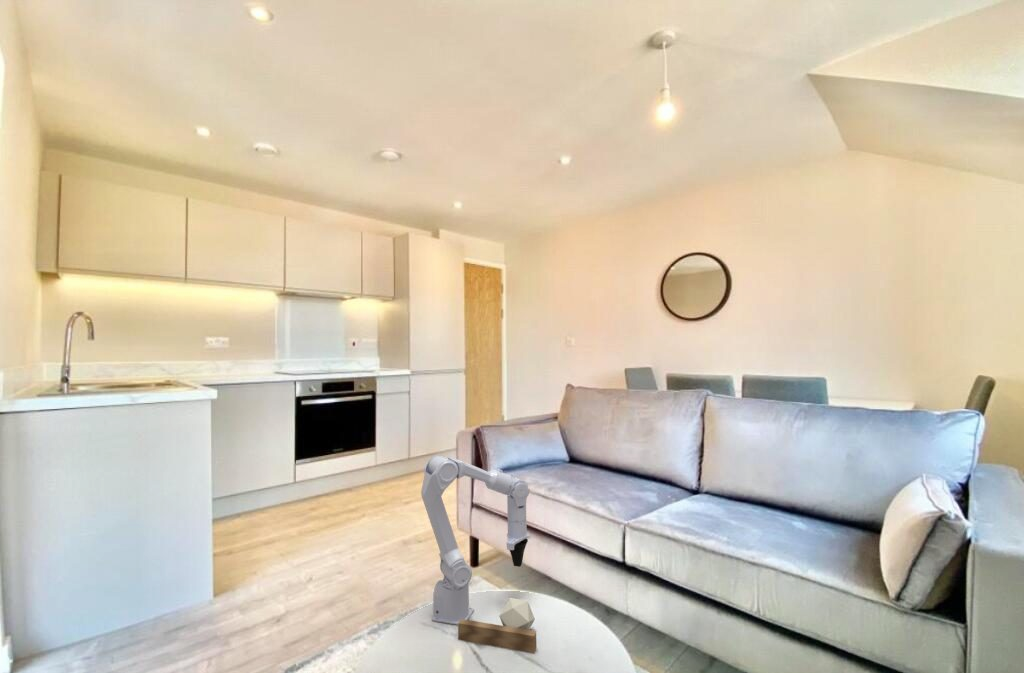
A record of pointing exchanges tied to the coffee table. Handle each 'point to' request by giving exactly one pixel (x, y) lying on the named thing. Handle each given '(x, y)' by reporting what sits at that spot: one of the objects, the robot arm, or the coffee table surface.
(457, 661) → the coffee table surface
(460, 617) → the robot arm
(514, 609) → the die
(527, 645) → the walnut board
